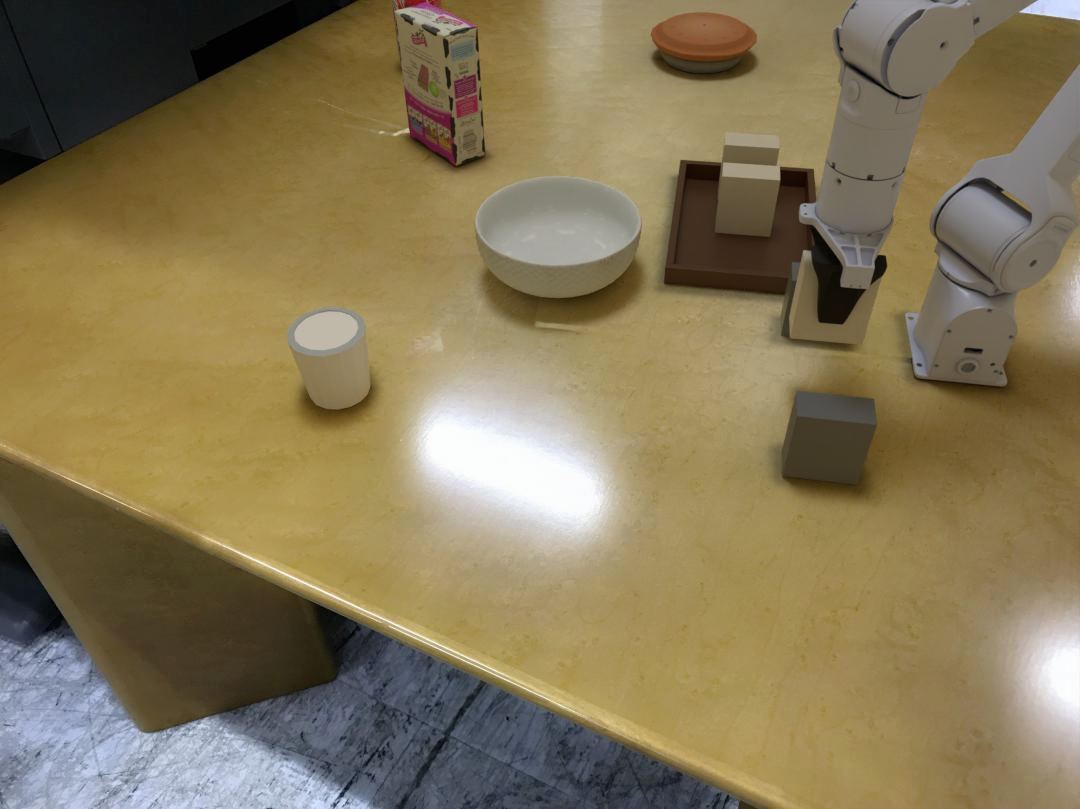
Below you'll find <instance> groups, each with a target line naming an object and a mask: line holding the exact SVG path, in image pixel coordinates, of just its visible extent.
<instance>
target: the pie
mask: <svg viewBox="0 0 1080 809" xmlns="http://www.w3.org/2000/svg"><path fill="white" fill-rule="evenodd" d="M650 32H651V33H650V37H651V40H652V42H653V43H654V45H655V46H656V47H657V48H658V51H659V54H660V55H661V57H662V59H663V60H664V62H665V63H666V64H667V65H668V66H670V67H672V68H674V69H676V70H678V71H682V72H685V73H692V74H717V73H721V72H725V71H728V70H730V69H732V68H734V67H735V66H736V65H738V63H739V62H740V61H741V59H742V58H743V57H744V55H745V54H746V53H747V52H749V50H751V49H752V48H753V47H754V46H755V44H757V42H758V35H757V33H756V31H755V29H753V28H752V27H751V26H749V25H748V24H746V23H745V22H742V21H741V20H740V19H738V18H736V17H733V16H731V15H726V14H722V13H716V12H707V11H705V12H703V11H702V12H701V11H699V12H698V11H697V12H695V11H694V12H687V13H686V12H685V13H681V14H676V15H673V16H671V17H669V18H667V19H665V20H663V21H661V22H659V23H658V24H656V25H655V26H654V27H652V29H651V31H650Z"/></svg>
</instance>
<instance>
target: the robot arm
mask: <svg viewBox="0 0 1080 809" xmlns="http://www.w3.org/2000/svg"><path fill="white" fill-rule="evenodd" d="M1037 2H1038V0H853V1H852V2H851V4H850V5H849V6H848V8H847V10H846V11H845V13H844V15H843V17H842V20H841V22H840V24H839V25H837V26H835V27H834V28H833V30H832V47H833V51H834V54H835V55H836V57H837V58H838V60H839V73H838V78H837V83H839V86H840V91H839V96H838V101H837V106H836V110H835V115H834V118H833V124H832V128H831V129H832V130H831V134H830V138H829V143H828V147H827V152H826V158H825V161H824V167H823V172H822V177H821V180H820V185H819V191H818V194H817V198H816V202H815V203H813V204H808V203H804V204H801V205H800V208H799V221H800V222H801V223H803V224H809V227H810V230H811V232H812V236H813V239H814V243H815V245H812V247H811V257H812V264H813V267H814V271H815V273H816V275H817V279H818V297H817V314H818V322H820V323H829V324H840V325H842V324H844V323H845V321H846V320H847V318H848V317H849V315H850V314H851V312H852V310H853V309H854V307H855V305H856V303H857V302H858V300H859V299H860V297H861V296H862V294H863V293H864V292H865V291H866V290H867V289H869V287H870V285H872V284H873V283H874V282H875V281H876V280H878V279H879V278H881V277H882V278H883V276H884V275H885V273H886V271H887V268H888V261H887V256H886V255H885V254H880V253H881V251H882V248H883V246H884V244H885V243H886V241H887V239H888V237H889V236H890V234H891V232H892V230H893V226H894V222H895V215H894V212H895V209H896V205H897V203H898V202H897V201H898V198H899V195H900V192H901V187H902V185H903V181H904V177H905V173H906V170H907V166H908V163H909V159H910V156H911V152H912V150H913V145H914V142H915V138H916V135H917V131H918V128H919V124H920V121H921V117H922V114H923V110H924V107H925V103H926V99H927V96H928V92H929V91H930V90H933V89H936V88H937V87H938V86H939V85H941V83H942V82H944V81H945V80H946V78H947V77H948V76H949V75H950V73H951V72H952V71H953V69H954V68H955V66H956V64H957V63H958V61H959V60H960V59H961V58H962V57H963V56H964V55H965V54H967V53H968V52H970V50H971V49H970V48H971V47H973V46H974V45H975V42H976V41H975V40H977V39H978V38H980V37H981V36H983V35H985V34H987V33H989V31H991V30H993V29H995V28H996V27H997V26H1000V25H1001V24H1002V23H1004V22H1006V21H1007V20H1009V19H1010V18H1013V16H1016V15H1017V14H1018V13H1020V12H1021V11H1023V10H1025V9H1026V8H1028V7H1030V6H1031V5H1033V4H1034V3H1037ZM1079 176H1080V63H1079V64H1078V65H1077V66H1076V68H1075V69H1074V70H1073V72H1072V73H1071V74H1070V76H1069V77H1068V79H1067V80H1066V81H1065V82H1064V84H1063V85H1062V86H1061V88H1060V89H1059V90H1058V91H1057V93H1056V94H1055V95H1054V96H1053V98H1052V100H1050V102H1049V104H1047V106H1046V108H1044V110H1043V112H1042V113H1041V114H1040V115H1039V117H1038V118H1037V119H1036V121H1035V122H1034V123H1033V125H1032V126H1031V127H1030V128H1029V130H1028V131H1027V133H1026V134H1025V135H1024V137H1022V139H1021V141H1020V142H1018V145H1017V146H1016V147H1015V148H1014V150H1013V151H1012V152H1010V153H1006V154H1002V155H997V156H992V157H987V158H983V159H979V160H977V161H976V162H975V163H974V164H973V165H972V166H971V168H970V170H968V172H967V173H966V174H965V175H964V176H963V178H961V179H960V180H959V181H958V182H956V184H954V185H953V186H952V187H950V188H949V189H947V191H945V193H943V195H942V196H941V197H940V198H939V199H938V200H937V202H936V204H935V206H934V208H933V210H932V212H931V214H930V218H929V223H928V225H929V232H930V234H931V236H932V237H933V238H934V239H935V240H936V243H935V247H934V251H933V252H934V254H936V255H937V262H936V265H935V268H934V271H933V274H932V276H931V280H930V283H929V286H928V288H927V291H926V294H925V297H924V299H923V303H922V306H921V309H920V312H906V313H905V314H904V318H905V323H906V330H907V335H908V341H909V346H910V352H911V356H912V357H910V360H911V365H912V369H913V371H912V372H913V375H914V376H915V377H916V378H917V379H921V380H931V381H942V382H953V383H962V384H973V385H983V386H990V387H991V386H993V387H1000V388H1001V387H1002V388H1003V387H1006V386H1007V384H1008V379H1007V375H1006V372H1005V368H1004V365H1005V362H1006V361H1007V358H1008V356H1009V354H1010V352H1011V349H1012V348H1013V345H1014V343H1015V341H1016V338H1017V335H1018V331H1019V330H1018V329H1019V328H1018V321H1017V316H1016V302H1017V298H1018V295H1019V293H1020V292H1021V291H1024V290H1027V289H1029V288H1031V287H1033V286H1035V285H1036V284H1038V283H1039V282H1041V281H1042V280H1043V279H1045V278H1046V276H1048V274H1050V272H1051V271H1052V270H1054V268H1055V266H1056V265H1057V263H1058V261H1059V260H1060V257H1061V254H1062V252H1063V249H1064V248H1065V245H1066V244H1067V243H1068V240H1069V239H1070V238H1071V236H1072V235H1073V234H1074V232H1075V231H1076V230H1077V228H1078V227H1079V226H1080V214H1079V210H1078V208H1077V204H1076V199H1075V195H1074V192H1073V186H1072V185H1073V183H1074V182H1075V181H1076V180H1077V178H1078V177H1079ZM1004 192H1006V193H1008V194H1009V195H1011V196H1013V197H1014V198H1015V199H1016V200H1018V201H1020V202H1021V203H1022V204H1024V205H1026V207H1027V208H1028V209H1029V210H1028V209H1027V208H1025V207H1024V206H1022V205H1021V204H1019V203H1018V202H1017V201H1015V200H1013V199H1012V198H1010V197H1009V196H1008V195H1006V194H1005V193H1004ZM909 318H911V319H909Z"/></svg>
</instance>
